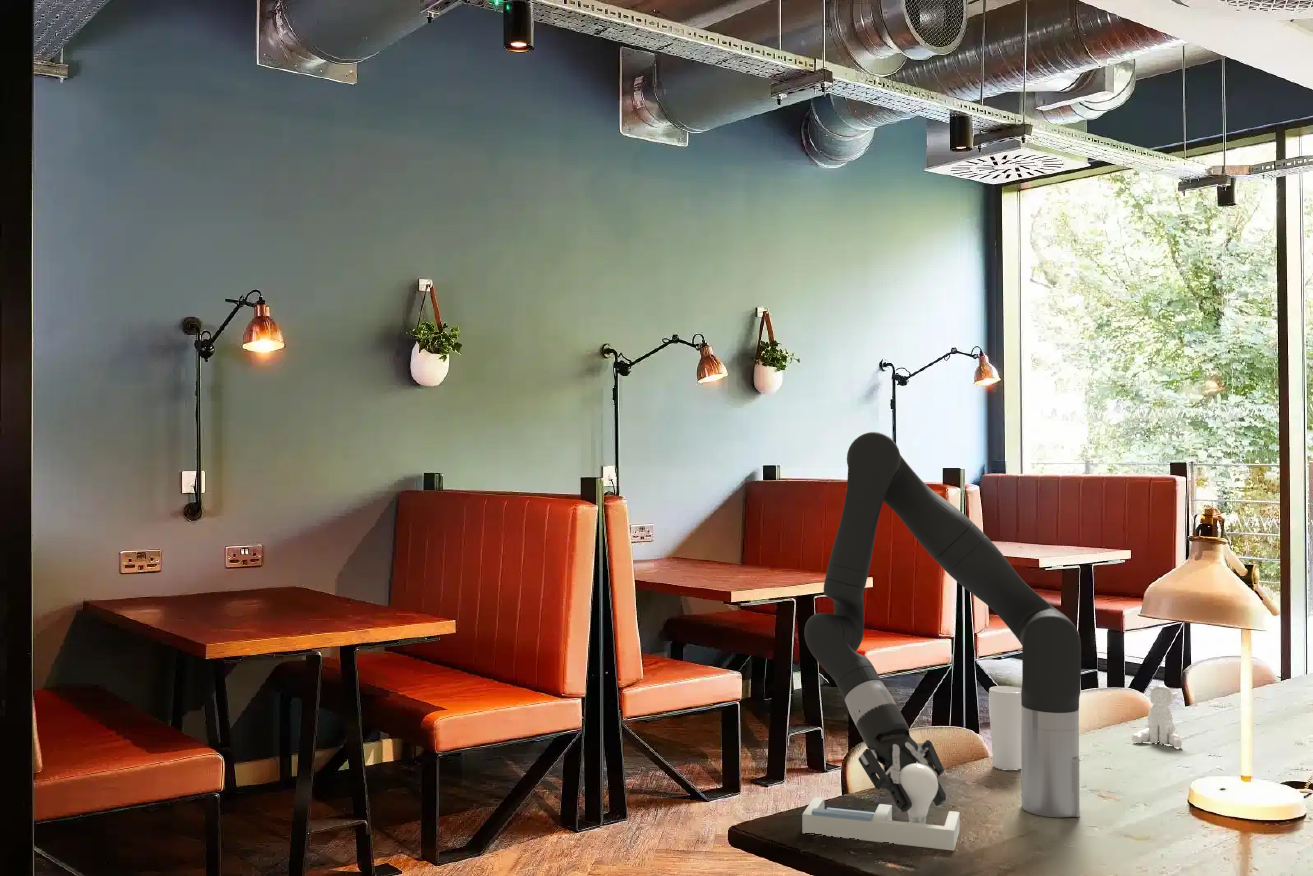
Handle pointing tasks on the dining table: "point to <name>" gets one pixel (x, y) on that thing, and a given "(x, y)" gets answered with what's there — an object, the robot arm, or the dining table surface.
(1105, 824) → the dining table surface
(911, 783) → the lightbulb
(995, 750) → the drinking glass
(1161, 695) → the white creature statuette
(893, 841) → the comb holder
